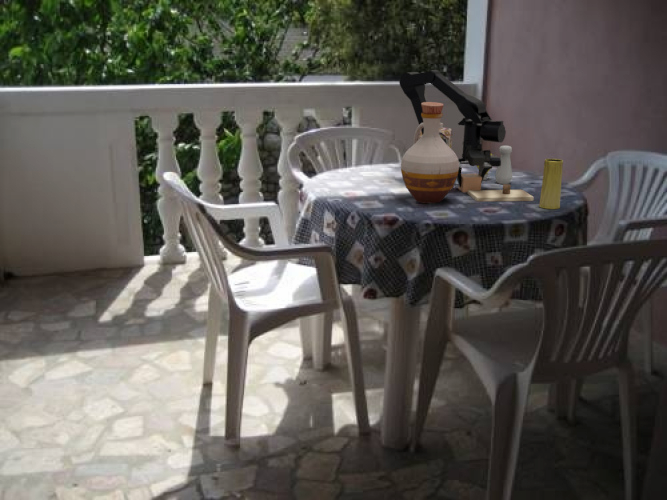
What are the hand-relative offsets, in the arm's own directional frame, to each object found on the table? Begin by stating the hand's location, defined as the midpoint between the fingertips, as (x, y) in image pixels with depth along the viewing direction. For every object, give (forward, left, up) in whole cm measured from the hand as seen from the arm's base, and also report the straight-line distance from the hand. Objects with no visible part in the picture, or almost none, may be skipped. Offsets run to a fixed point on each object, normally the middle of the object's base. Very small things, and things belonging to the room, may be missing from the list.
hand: (469, 186), depth 237 cm
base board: (+7, -11, -1) cm, 13 cm away
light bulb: (+10, +18, -1) cm, 21 cm away
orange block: (0, 0, -1) cm, 1 cm away
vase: (+18, -25, -1) cm, 31 cm away
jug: (-17, -13, -1) cm, 21 cm away
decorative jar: (-4, +36, -2) cm, 36 cm away
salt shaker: (+15, +11, -1) cm, 19 cm away
